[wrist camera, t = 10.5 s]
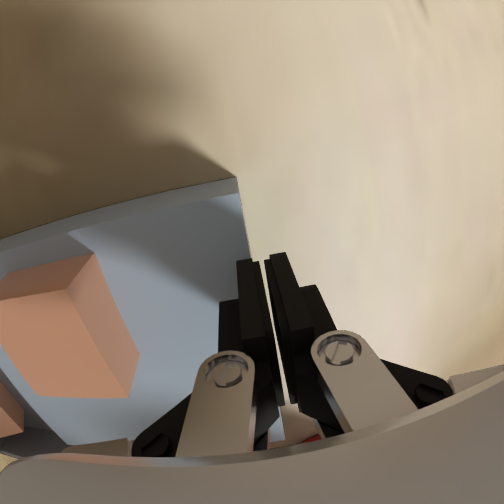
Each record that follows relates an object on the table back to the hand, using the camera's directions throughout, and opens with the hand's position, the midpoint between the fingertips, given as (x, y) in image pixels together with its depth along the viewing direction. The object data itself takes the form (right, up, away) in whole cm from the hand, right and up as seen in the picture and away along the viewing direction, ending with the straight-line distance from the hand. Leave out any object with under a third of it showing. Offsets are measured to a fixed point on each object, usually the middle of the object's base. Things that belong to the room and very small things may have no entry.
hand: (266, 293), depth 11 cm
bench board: (-8, -4, +5) cm, 10 cm away
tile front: (-8, -1, +1) cm, 8 cm away
